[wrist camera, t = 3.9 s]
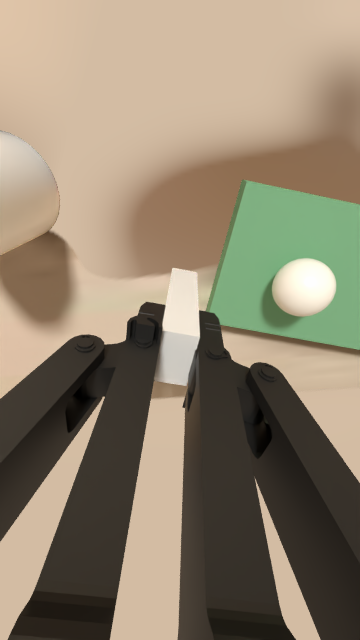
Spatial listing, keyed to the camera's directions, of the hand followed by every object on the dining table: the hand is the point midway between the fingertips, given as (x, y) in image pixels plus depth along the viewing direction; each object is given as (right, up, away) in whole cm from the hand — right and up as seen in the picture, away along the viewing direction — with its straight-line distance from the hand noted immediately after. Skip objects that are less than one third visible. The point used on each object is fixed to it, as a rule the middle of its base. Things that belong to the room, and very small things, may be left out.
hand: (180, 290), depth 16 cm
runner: (+17, +2, +7) cm, 19 cm away
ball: (+9, +1, +4) cm, 10 cm away
